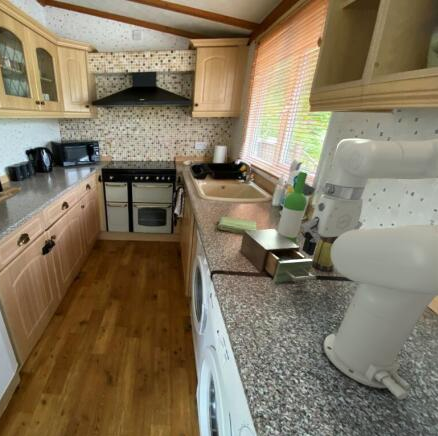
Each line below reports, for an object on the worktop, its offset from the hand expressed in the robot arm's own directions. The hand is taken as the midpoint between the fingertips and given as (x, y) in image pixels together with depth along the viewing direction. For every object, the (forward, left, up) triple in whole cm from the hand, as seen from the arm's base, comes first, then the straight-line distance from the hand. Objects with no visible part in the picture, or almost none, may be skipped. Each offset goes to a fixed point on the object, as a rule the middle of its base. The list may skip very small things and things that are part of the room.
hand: (323, 251), depth 66 cm
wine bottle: (+34, -18, -16) cm, 42 cm away
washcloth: (+49, -3, -16) cm, 52 cm away
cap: (+11, 0, -14) cm, 18 cm away
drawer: (+12, 0, -15) cm, 19 cm away
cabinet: (+21, 0, -16) cm, 27 cm away
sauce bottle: (+14, -18, -16) cm, 28 cm away
